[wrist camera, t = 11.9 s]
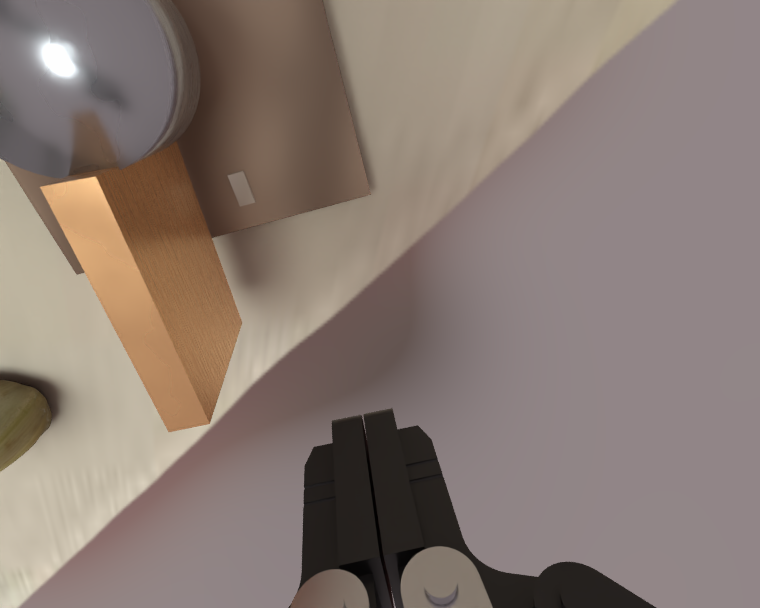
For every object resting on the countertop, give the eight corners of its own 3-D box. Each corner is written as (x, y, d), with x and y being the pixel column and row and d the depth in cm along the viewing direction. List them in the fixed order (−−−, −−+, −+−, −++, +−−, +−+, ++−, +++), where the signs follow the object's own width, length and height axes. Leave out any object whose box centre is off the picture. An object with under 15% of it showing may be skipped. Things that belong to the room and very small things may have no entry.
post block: (90, 264, 24) (25, 315, 19) (-138, -110, 17) (-348, -196, 12) (368, 188, 24) (381, 218, 19) (264, -222, 17) (239, -360, 11)
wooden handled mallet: (-2, -23, 15) (-245, -98, 9) (179, -54, 16) (75, -150, 9) (166, 337, 23) (101, 446, 16) (288, 313, 23) (275, 410, 16)
